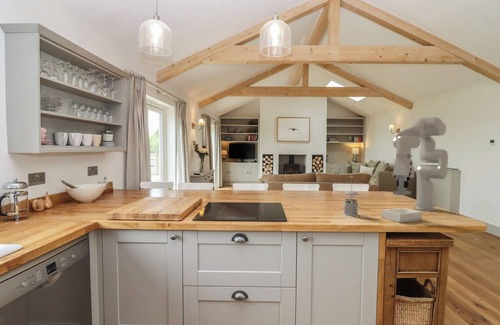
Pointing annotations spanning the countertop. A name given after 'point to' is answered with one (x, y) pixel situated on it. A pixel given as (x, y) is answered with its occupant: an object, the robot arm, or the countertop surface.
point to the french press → (351, 204)
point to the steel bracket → (401, 187)
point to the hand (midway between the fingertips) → (402, 187)
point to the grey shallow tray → (401, 215)
